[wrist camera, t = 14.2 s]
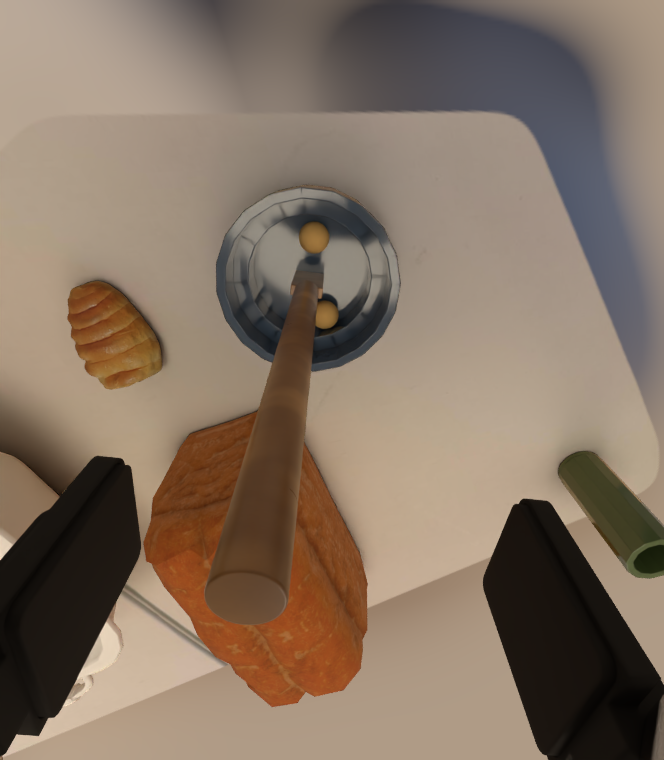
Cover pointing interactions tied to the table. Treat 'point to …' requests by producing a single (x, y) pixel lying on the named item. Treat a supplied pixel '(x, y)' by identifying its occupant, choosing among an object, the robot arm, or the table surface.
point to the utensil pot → (616, 513)
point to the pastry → (112, 336)
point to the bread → (307, 584)
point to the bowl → (285, 255)
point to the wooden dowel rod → (269, 479)
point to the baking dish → (12, 518)
